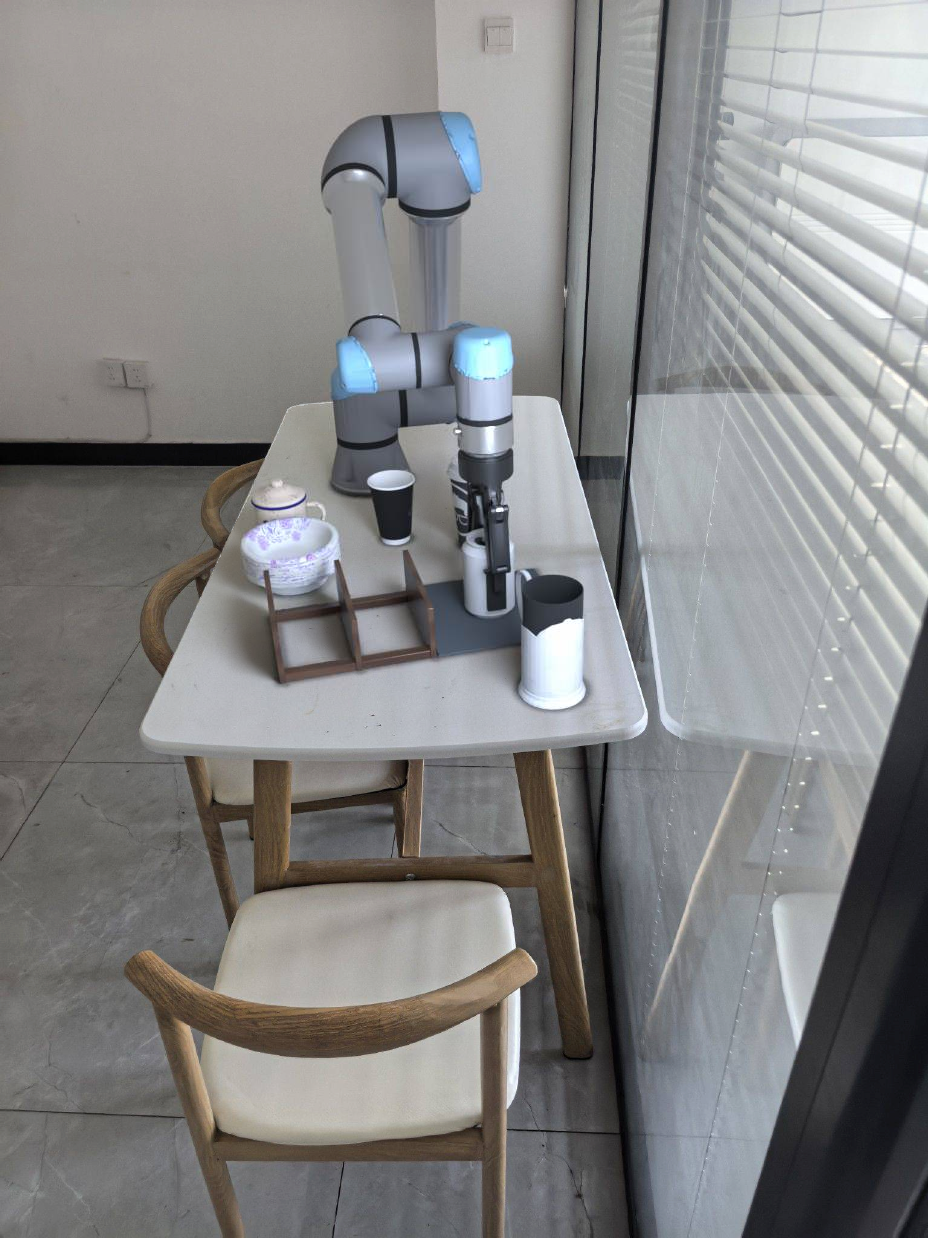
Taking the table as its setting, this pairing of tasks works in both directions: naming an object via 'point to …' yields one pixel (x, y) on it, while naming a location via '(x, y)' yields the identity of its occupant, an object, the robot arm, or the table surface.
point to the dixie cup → (393, 504)
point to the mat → (470, 621)
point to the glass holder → (551, 640)
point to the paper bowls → (291, 554)
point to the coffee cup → (459, 498)
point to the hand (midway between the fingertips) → (489, 595)
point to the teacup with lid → (281, 502)
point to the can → (482, 577)
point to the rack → (346, 607)
